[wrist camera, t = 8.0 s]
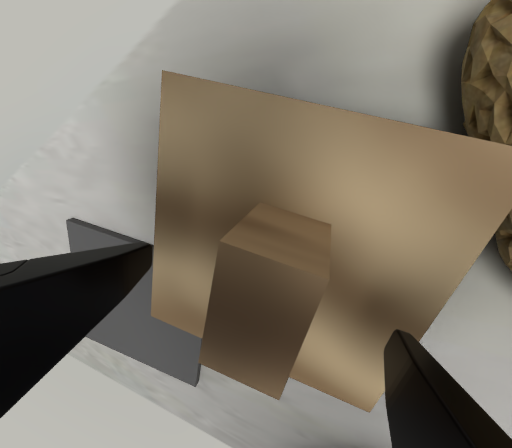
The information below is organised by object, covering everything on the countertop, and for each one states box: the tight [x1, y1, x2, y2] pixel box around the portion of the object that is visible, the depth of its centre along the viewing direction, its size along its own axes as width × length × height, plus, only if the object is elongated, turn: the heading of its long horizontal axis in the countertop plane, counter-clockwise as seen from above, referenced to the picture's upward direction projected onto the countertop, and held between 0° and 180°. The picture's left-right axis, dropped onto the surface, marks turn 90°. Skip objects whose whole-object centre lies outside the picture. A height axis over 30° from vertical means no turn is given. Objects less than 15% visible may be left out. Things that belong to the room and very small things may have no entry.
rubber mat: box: [66, 218, 202, 387], centre depth 23 cm, size 14×14×1 cm
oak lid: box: [151, 70, 512, 413], centre depth 9 cm, size 13×13×5 cm
